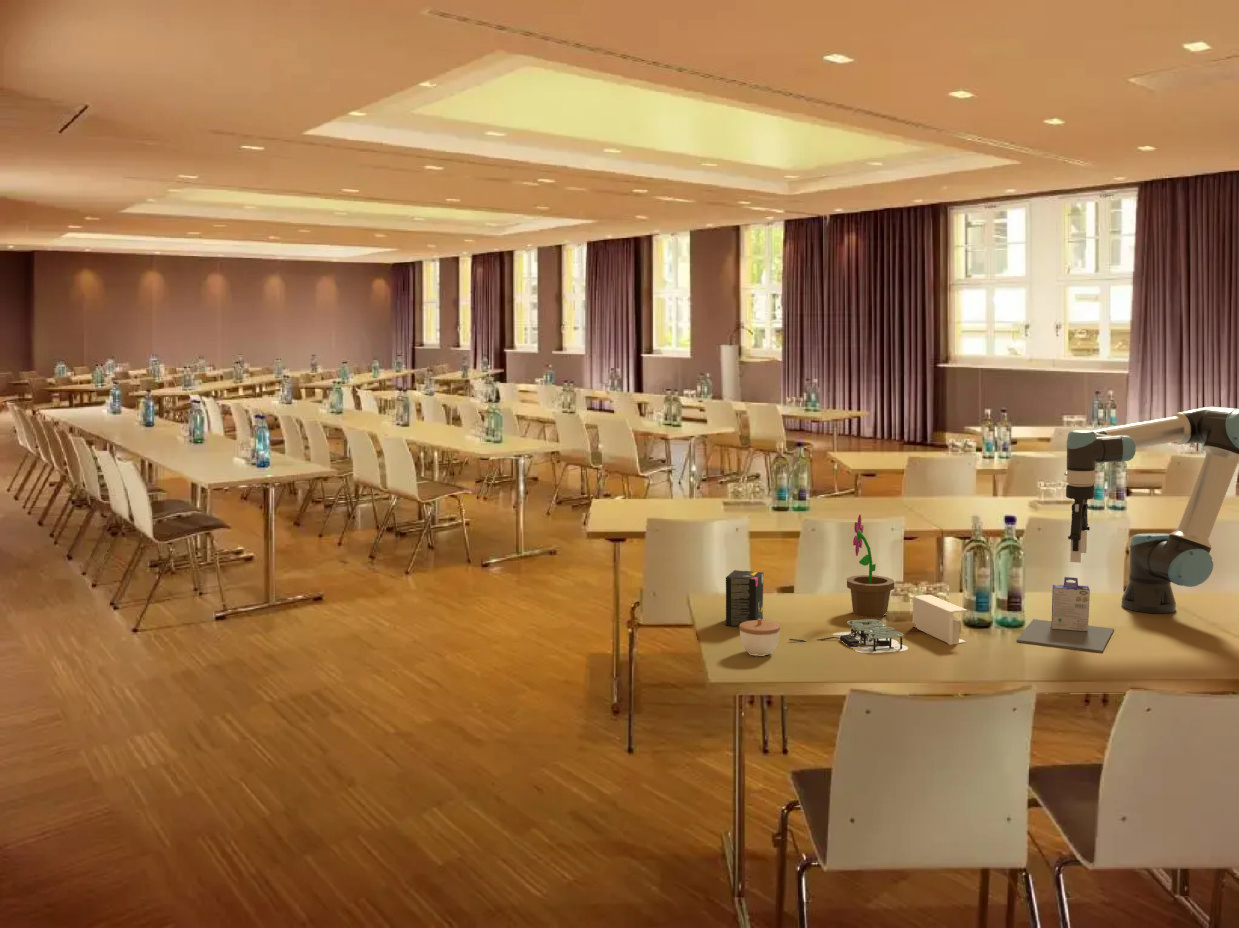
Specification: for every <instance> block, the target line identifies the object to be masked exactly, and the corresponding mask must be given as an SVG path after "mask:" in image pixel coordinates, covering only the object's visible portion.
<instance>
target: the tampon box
mask: <svg viewBox="0 0 1239 928" xmlns="http://www.w3.org/2000/svg"><path fill="white" fill-rule="evenodd" d="M763 606H764V572H763V571H752V570H736V569H734V570H733V571H732V572H731V573H729V574H728V575H727V576H726V577H725V626H726V625H731V626H732V627H738V626H739V625H740V624H741V623H742V622H746V621H752V620H758V619H763V620H764V616H763V615H764V614H763V612H764V610H763V609H764V607H763ZM731 626H730V627H731Z"/></svg>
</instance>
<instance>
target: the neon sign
mask: <svg viewBox="0 0 1239 928" xmlns="http://www.w3.org/2000/svg"><path fill="white" fill-rule="evenodd" d="M846 622H847V623H846V624H847V625H848V626H850V631H844V632H843V631H842V632H841V631H840V632H834V633H833V634H832V635H840V637H833V636H830V637H824V638H819V639H817V640H821V641H825V640H830V639H835V640H838V641H839V642H841V641H843V642H844V643H845V644H847V645H846V647H848V648H850V647H868V648H861V649H862V650H857V649H856V650H855V651H854V652H856V653H860V654H861V653H862V654H884V653H885V654H887V653H896V652H897V653H898V652H905V651H907V650H909V647H908V646H907V645H905V644H903V636H904V634H903V633H902V632H900V631H896V630H895V628H894V627H891V626H890V627H889V626H888V627H887V624H886V623H883V622H882V621H881V620H878V619H874V618H873V619H872V618H871V619H856V620H855V619H854V620H848V621H846ZM865 623H867V624H865ZM851 635H852V636H851ZM853 635H854V636H853ZM893 638H900V640H899V641H900V642H899V641H897V640H896V639H893ZM788 640H789V641H792V642H793V641H795V642H805V641H804V639H796V638H795V639H794V638H789V639H788ZM859 641H860V643H859ZM862 641H863V642H862ZM866 641H867V642H866ZM844 643H843V644H844ZM845 644H844V645H845ZM863 649H864V650H863ZM865 649H866V650H865Z"/></svg>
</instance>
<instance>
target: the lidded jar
mask: <svg viewBox="0 0 1239 928" xmlns="http://www.w3.org/2000/svg"><path fill="white" fill-rule="evenodd" d="M738 628H739V637H740V638H739V639H740V644H741V645H742V647H743V649H744V651H746V652H747V654H748V653H750V654H758V655H763V654H770V653H771V654H772V653H773V652H774V650H776V648H777V647H778V643H779V639H780V630H781V625H780V624H779V623H777V622H774V621H771V620H764V619H763V620H762V619H758V620H752V621H746V622H742V623H741V624H740V625H739V627H738ZM771 654H770V655H771Z"/></svg>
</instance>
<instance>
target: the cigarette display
mask: <svg viewBox="0 0 1239 928" xmlns="http://www.w3.org/2000/svg"><path fill="white" fill-rule="evenodd" d="M912 596H913V597H912V623H915V624H916V627H917V629H916V630H919V631H920V632H921V631H922V632H923V633H926V634H927V635H929V636H931V637H934V638H936V639H938V640H940V641H941V642H944V643H946V644H948V645H949V646H950V645H951V646H953V645H958V644H966V643H967V641H966V640H964V639H962V638H960V633H961V632H960V631H961V630H960V629H961V625H960V624H961V621H960V619H956V618H954V613H963V612H968V609H966V608H964V607H961V606H958V605H956V604H954V603H951V602H949V601H946V600H944V599H942V598H939V597H937V596H934V595H931V594H923V595H912Z"/></svg>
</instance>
